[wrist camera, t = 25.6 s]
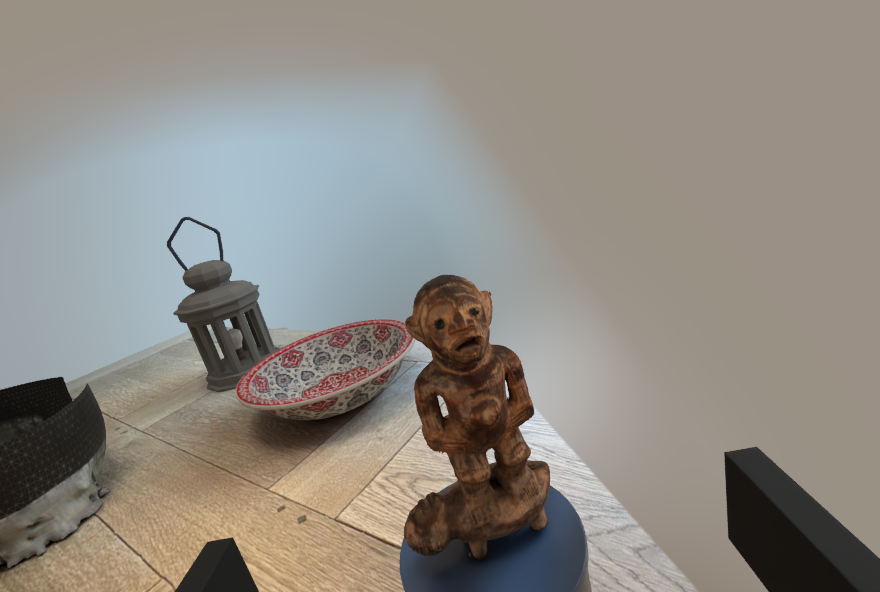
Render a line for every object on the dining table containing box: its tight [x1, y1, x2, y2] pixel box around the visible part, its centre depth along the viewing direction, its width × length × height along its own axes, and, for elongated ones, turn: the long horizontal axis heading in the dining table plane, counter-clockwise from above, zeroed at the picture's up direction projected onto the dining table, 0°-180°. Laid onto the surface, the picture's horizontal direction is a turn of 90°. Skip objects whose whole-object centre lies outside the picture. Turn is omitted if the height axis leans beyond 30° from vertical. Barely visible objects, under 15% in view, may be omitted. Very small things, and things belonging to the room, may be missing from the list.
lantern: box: [167, 217, 279, 392], centre depth 88 cm, size 17×17×35 cm
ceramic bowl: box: [235, 320, 415, 420], centre depth 69 cm, size 29×29×8 cm
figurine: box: [404, 275, 550, 560], centre depth 21 cm, size 7×7×15 cm
